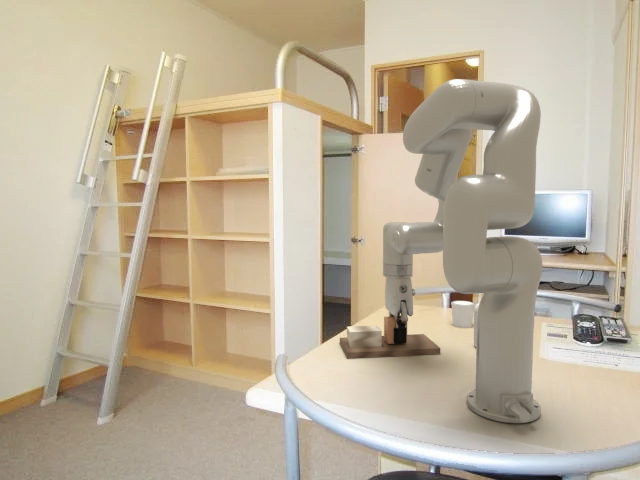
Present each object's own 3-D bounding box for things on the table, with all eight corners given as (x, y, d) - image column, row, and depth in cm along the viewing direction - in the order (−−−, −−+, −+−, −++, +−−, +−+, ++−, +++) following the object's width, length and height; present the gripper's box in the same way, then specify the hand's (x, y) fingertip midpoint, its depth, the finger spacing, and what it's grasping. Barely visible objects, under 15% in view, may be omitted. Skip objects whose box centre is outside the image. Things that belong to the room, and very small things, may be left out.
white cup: (446, 323, 138) (446, 301, 138) (465, 321, 140) (465, 299, 140) (459, 329, 132) (459, 306, 131) (479, 327, 134) (479, 304, 133)
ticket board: (347, 358, 108) (347, 336, 107) (339, 343, 120) (339, 323, 119) (440, 354, 110) (440, 332, 110) (423, 339, 122) (424, 319, 122)
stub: (388, 343, 113) (388, 320, 112) (384, 339, 117) (384, 316, 116) (407, 342, 113) (407, 320, 113) (402, 338, 117) (402, 315, 117)
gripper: (423, 275, 106) (422, 350, 107) (402, 265, 122) (401, 330, 124) (392, 276, 105) (392, 351, 106) (375, 266, 121) (375, 331, 123)
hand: (397, 339), depth 115 cm, fingers closed on stub, 4 cm apart
